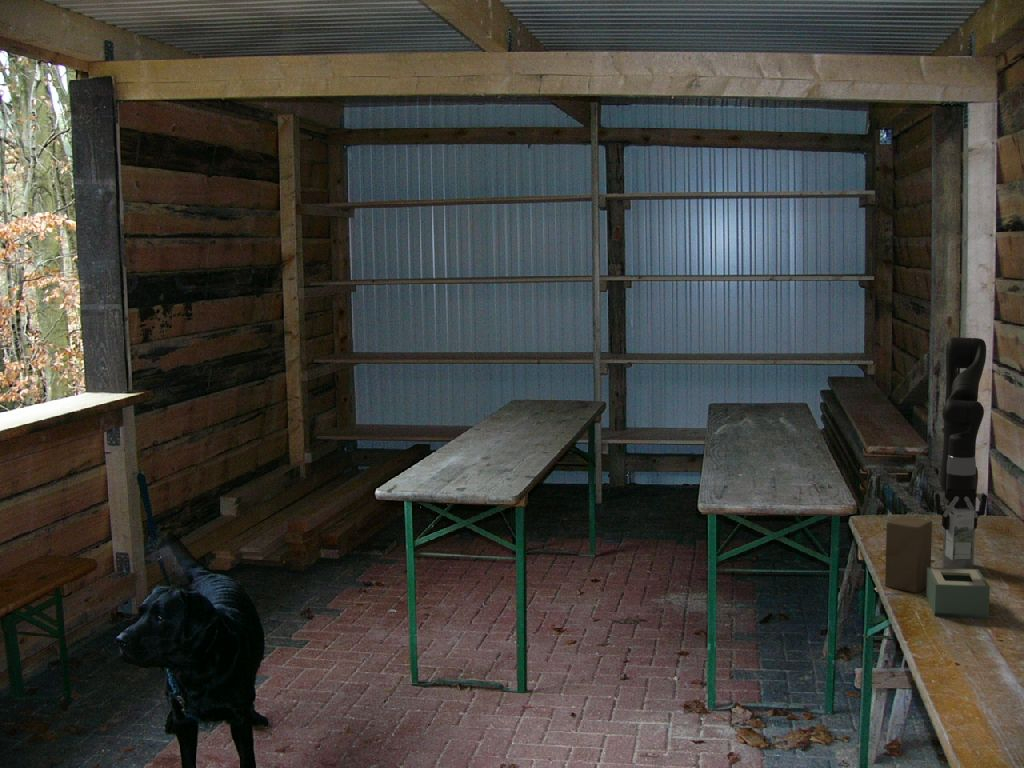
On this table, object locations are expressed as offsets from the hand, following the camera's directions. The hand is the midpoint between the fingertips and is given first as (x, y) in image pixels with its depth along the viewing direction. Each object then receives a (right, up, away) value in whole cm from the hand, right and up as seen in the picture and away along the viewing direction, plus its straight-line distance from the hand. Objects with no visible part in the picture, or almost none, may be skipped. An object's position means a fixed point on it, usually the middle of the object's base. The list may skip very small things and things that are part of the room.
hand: (959, 529), depth 315 cm
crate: (0, -23, +3) cm, 23 cm away
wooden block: (-6, -20, +23) cm, 31 cm away
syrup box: (0, -8, +1) cm, 8 cm away
